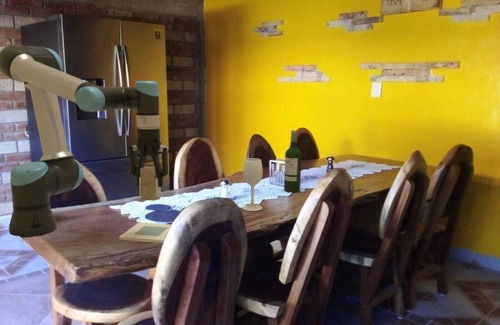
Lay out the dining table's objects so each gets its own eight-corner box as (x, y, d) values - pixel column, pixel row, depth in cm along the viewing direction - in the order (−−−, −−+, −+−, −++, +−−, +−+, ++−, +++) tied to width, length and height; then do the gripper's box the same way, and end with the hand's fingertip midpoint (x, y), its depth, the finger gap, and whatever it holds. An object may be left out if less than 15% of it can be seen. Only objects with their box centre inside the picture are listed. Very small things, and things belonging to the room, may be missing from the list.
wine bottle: (282, 191, 215) (284, 131, 209) (286, 188, 222) (287, 129, 217) (298, 193, 212) (300, 131, 207) (301, 189, 220) (303, 130, 214)
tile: (119, 239, 146) (119, 236, 146) (139, 224, 162) (139, 222, 162) (164, 243, 144) (164, 240, 143) (180, 227, 159) (180, 225, 159)
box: (140, 200, 149) (139, 168, 147) (145, 197, 153) (144, 166, 151) (155, 200, 148) (153, 168, 146) (160, 197, 152) (158, 166, 150)
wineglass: (257, 204, 191) (258, 157, 188) (265, 210, 183) (266, 160, 180) (239, 206, 188) (239, 158, 184) (246, 212, 180) (247, 161, 176)
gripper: (117, 128, 144) (120, 196, 148) (170, 129, 141) (171, 199, 145) (127, 126, 151) (130, 191, 156) (178, 127, 148) (179, 194, 152)
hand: (150, 195), depth 150 cm, fingers closed on box, 5 cm apart
